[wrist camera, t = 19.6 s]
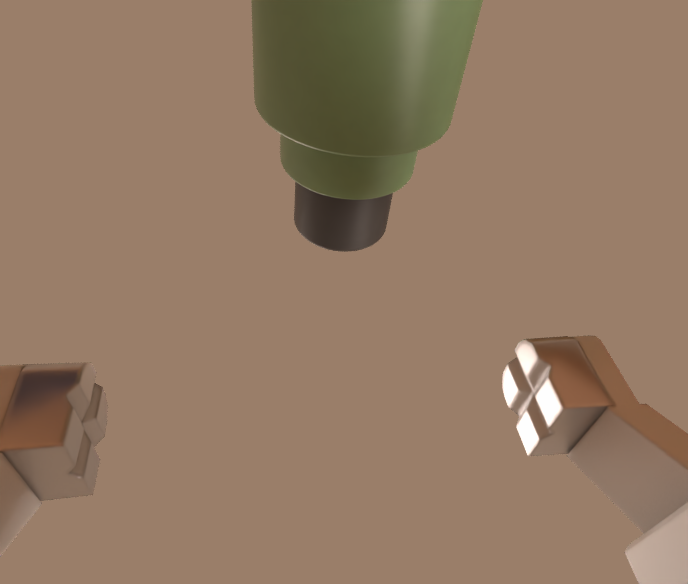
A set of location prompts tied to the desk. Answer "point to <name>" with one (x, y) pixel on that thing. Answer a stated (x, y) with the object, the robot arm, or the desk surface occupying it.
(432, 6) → the bottle
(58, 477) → the robot arm
